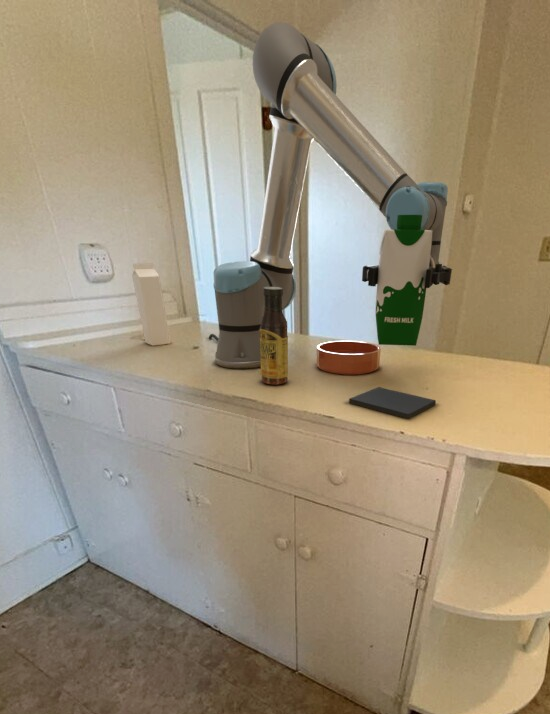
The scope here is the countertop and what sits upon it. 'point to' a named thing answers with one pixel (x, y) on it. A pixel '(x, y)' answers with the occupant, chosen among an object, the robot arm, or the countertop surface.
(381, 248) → the drink carton
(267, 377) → the sauce bottle
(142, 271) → the milk
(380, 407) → the mat
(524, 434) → the countertop surface
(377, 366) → the bowl
